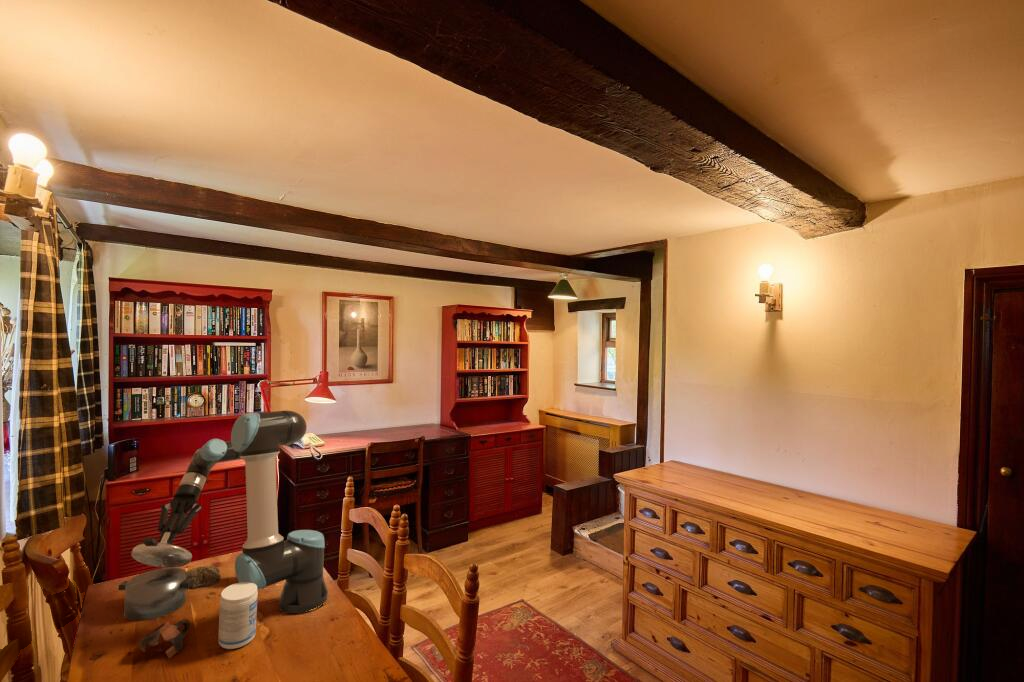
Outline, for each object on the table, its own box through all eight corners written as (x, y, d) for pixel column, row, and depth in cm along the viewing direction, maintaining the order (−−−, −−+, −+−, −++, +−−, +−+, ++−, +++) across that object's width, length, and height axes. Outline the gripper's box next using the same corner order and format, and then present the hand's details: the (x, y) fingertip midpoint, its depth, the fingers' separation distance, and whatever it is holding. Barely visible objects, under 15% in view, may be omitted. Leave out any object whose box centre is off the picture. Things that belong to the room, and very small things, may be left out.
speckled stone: (178, 579, 175) (179, 565, 175) (217, 569, 183) (218, 556, 183) (184, 593, 165) (185, 578, 165) (225, 582, 174) (225, 568, 174)
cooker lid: (176, 541, 151) (177, 537, 152) (116, 542, 149) (118, 538, 149) (197, 566, 165) (199, 563, 166) (143, 568, 163) (145, 564, 164)
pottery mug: (160, 667, 128) (144, 640, 127) (144, 672, 132) (129, 646, 132) (203, 632, 138) (189, 608, 138) (187, 637, 143) (173, 613, 142)
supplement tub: (256, 644, 138) (259, 595, 137) (218, 655, 133) (220, 604, 132) (254, 624, 146) (256, 578, 145) (217, 633, 141) (220, 585, 140)
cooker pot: (176, 619, 149) (177, 590, 149) (102, 622, 146) (104, 592, 147) (204, 591, 166) (205, 565, 166) (138, 593, 163) (140, 567, 164)
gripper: (212, 493, 179) (185, 557, 162) (174, 493, 178) (143, 558, 161) (206, 483, 174) (177, 548, 157) (167, 482, 173) (133, 548, 156)
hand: (160, 553), depth 159 cm, fingers closed
